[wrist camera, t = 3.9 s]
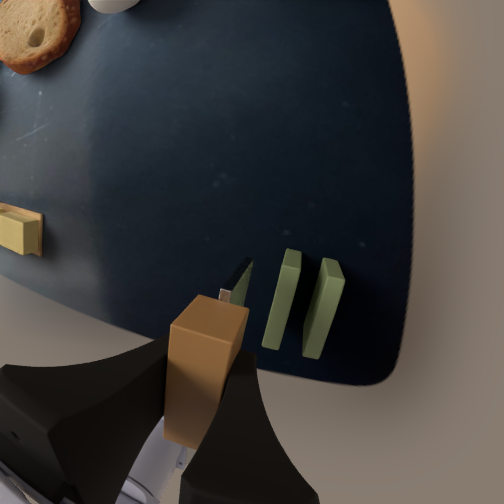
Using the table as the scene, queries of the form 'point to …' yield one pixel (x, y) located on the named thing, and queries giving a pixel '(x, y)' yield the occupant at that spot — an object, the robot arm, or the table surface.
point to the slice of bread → (36, 32)
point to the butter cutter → (203, 358)
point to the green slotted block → (319, 309)
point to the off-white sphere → (112, 5)
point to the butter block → (18, 232)
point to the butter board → (30, 214)
